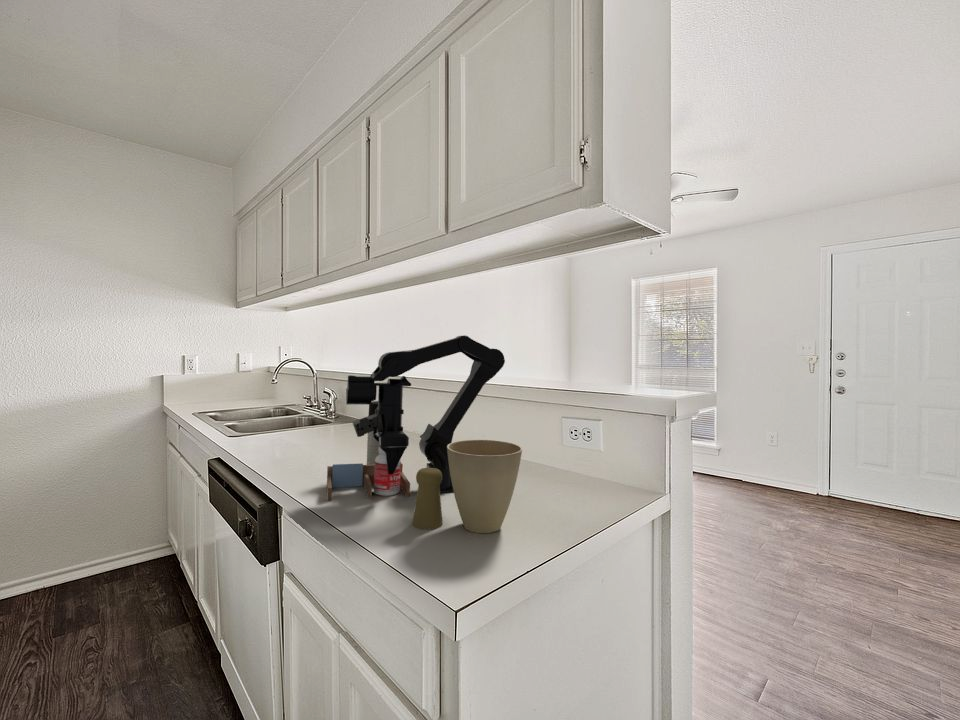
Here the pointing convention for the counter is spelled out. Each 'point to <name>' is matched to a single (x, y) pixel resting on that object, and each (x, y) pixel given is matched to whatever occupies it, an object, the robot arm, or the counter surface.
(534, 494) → the counter surface
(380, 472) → the pill bottle
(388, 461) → the robot arm
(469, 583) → the counter surface
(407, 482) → the divider rack
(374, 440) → the spray can
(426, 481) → the olive green peg figure
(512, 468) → the plant pot
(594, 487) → the counter surface
